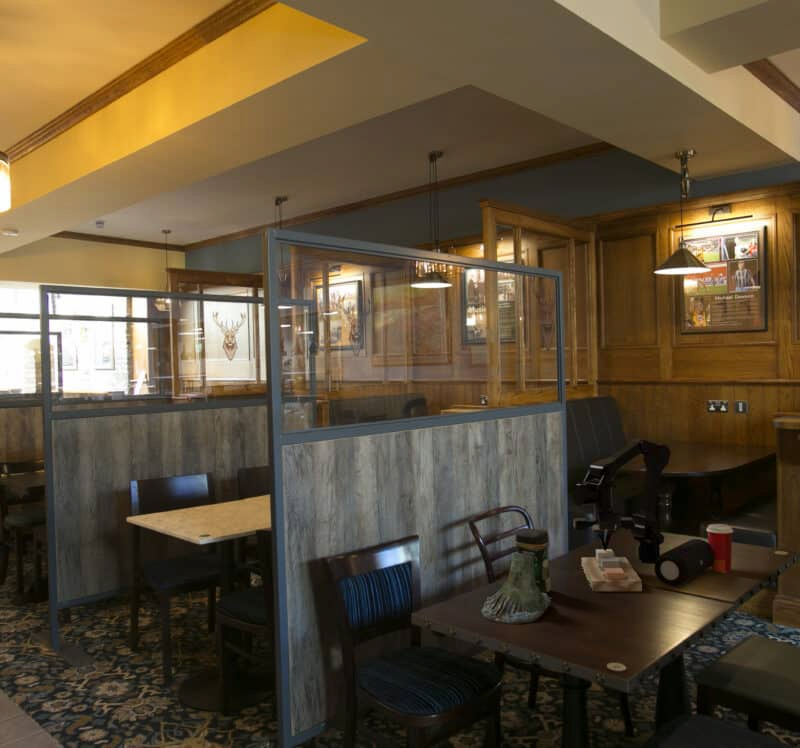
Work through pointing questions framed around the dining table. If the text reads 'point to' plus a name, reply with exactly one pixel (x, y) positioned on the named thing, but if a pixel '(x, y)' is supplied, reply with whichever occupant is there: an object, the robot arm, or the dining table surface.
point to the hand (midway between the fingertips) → (604, 550)
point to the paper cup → (720, 546)
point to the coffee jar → (536, 554)
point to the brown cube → (614, 574)
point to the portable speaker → (684, 562)
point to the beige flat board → (600, 584)
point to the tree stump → (517, 595)
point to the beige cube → (603, 554)
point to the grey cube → (608, 562)
